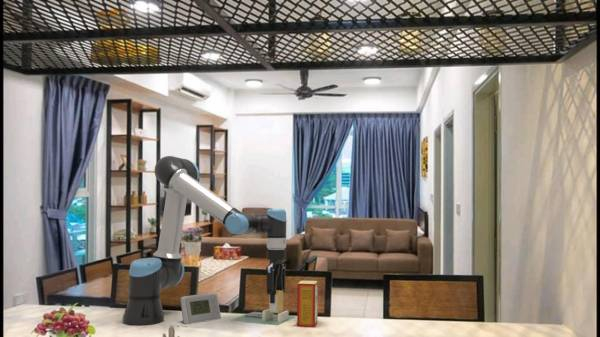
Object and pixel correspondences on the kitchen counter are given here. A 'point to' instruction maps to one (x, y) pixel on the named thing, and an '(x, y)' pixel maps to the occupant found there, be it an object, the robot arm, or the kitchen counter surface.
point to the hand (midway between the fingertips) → (275, 310)
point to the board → (265, 317)
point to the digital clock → (200, 308)
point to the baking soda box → (307, 303)
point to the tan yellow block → (278, 301)
